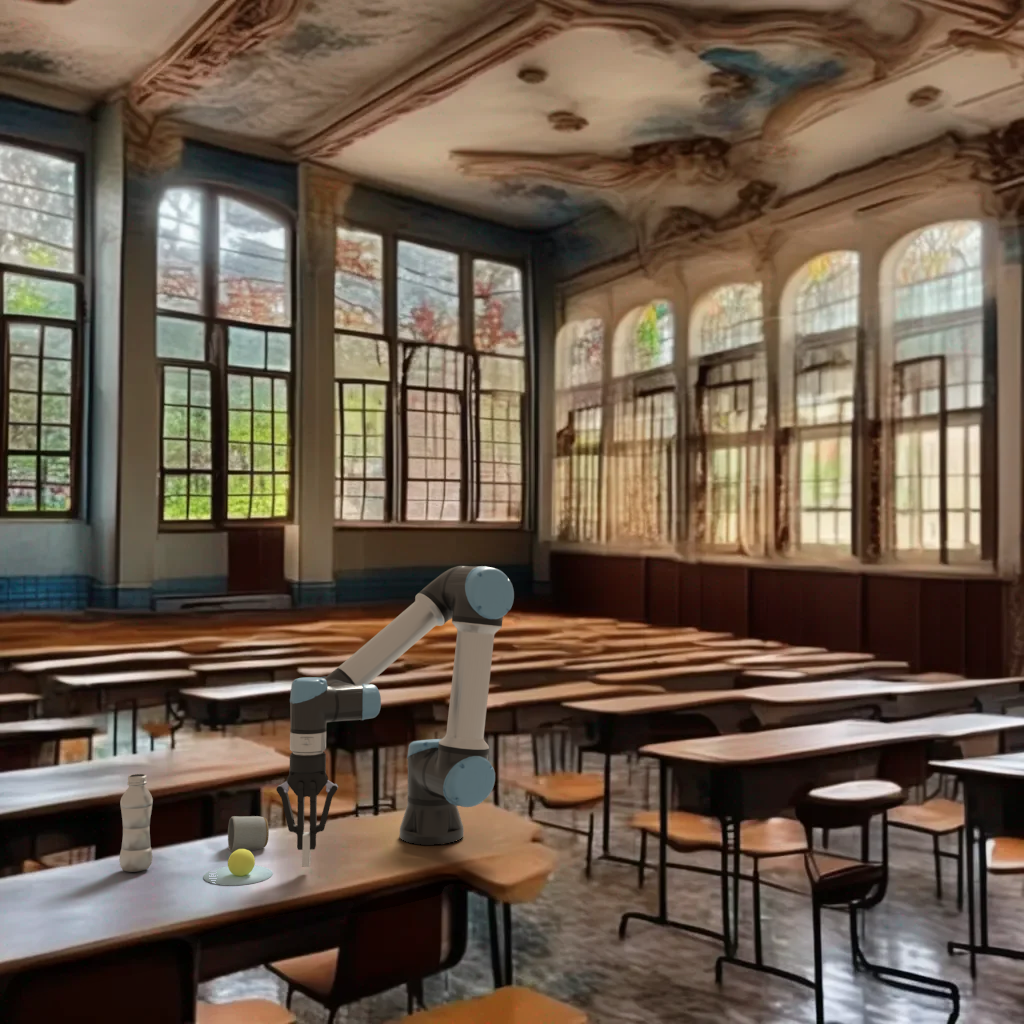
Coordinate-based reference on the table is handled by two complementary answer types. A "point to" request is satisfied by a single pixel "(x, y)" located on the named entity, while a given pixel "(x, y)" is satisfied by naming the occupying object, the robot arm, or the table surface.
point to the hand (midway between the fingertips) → (306, 864)
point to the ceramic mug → (247, 833)
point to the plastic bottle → (136, 825)
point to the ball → (241, 862)
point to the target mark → (230, 879)
